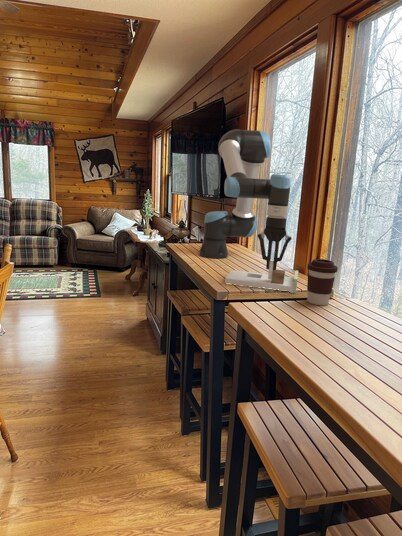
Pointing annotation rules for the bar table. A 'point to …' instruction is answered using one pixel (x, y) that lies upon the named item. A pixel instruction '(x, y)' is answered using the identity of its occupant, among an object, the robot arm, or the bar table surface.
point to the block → (278, 276)
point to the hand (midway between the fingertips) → (270, 277)
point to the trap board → (261, 280)
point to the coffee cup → (320, 281)
